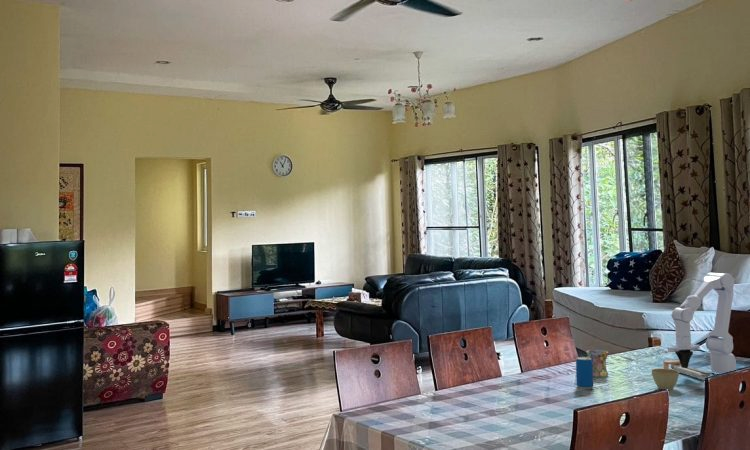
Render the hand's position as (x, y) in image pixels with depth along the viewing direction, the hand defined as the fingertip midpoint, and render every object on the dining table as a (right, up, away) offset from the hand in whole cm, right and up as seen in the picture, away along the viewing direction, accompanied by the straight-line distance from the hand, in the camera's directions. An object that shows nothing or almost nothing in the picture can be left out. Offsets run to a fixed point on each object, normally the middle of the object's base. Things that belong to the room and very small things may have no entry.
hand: (684, 367), depth 261 cm
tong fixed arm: (+5, -4, +7) cm, 9 cm away
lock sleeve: (+2, -5, +15) cm, 16 cm away
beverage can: (-47, -6, -12) cm, 49 cm away
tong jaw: (+3, -4, +2) cm, 5 cm away
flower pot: (-17, -5, -18) cm, 25 cm away
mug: (-35, -6, +7) cm, 37 cm away
